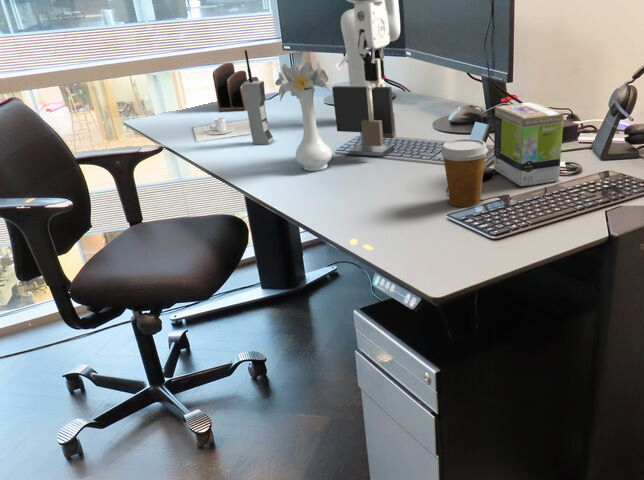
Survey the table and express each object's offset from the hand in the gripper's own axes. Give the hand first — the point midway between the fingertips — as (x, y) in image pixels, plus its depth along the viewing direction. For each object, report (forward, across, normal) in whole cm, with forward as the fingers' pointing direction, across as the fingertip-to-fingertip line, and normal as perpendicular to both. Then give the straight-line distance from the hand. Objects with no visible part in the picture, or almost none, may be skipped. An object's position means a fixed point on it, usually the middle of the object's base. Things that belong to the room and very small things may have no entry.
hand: (374, 78), depth 162 cm
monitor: (+19, +2, +4) cm, 20 cm away
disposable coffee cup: (+19, -29, -33) cm, 48 cm away
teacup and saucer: (+19, +18, +63) cm, 68 cm away
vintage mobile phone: (+19, +6, +41) cm, 46 cm away
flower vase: (+19, -13, +13) cm, 27 cm away
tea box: (+19, -9, -41) cm, 46 cm away
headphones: (+15, 0, 0) cm, 15 cm away
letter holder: (+19, +52, +81) cm, 98 cm away
